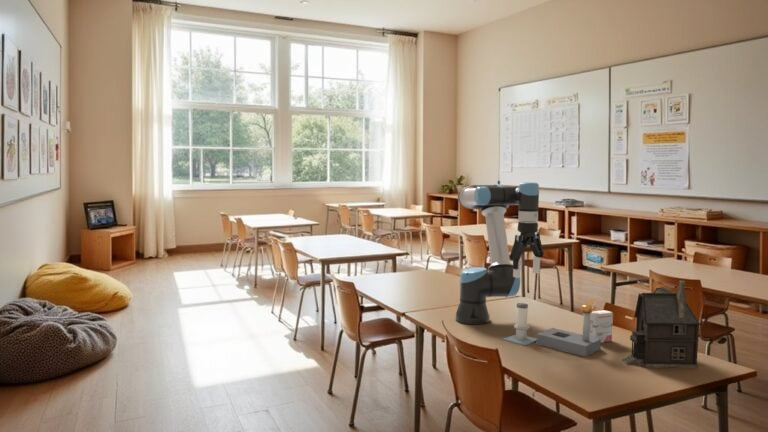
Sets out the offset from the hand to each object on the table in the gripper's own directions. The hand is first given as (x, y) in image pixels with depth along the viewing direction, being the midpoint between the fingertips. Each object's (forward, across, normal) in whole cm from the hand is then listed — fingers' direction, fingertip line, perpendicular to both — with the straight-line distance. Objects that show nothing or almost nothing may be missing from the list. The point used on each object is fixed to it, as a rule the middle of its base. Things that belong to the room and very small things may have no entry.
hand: (526, 275), depth 221 cm
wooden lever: (+14, +11, -21) cm, 28 cm away
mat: (+26, -1, +1) cm, 26 cm away
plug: (+26, -1, +1) cm, 26 cm away
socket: (+26, +5, -16) cm, 31 cm away
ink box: (+26, +21, -21) cm, 40 cm away
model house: (+26, +15, -44) cm, 53 cm away
